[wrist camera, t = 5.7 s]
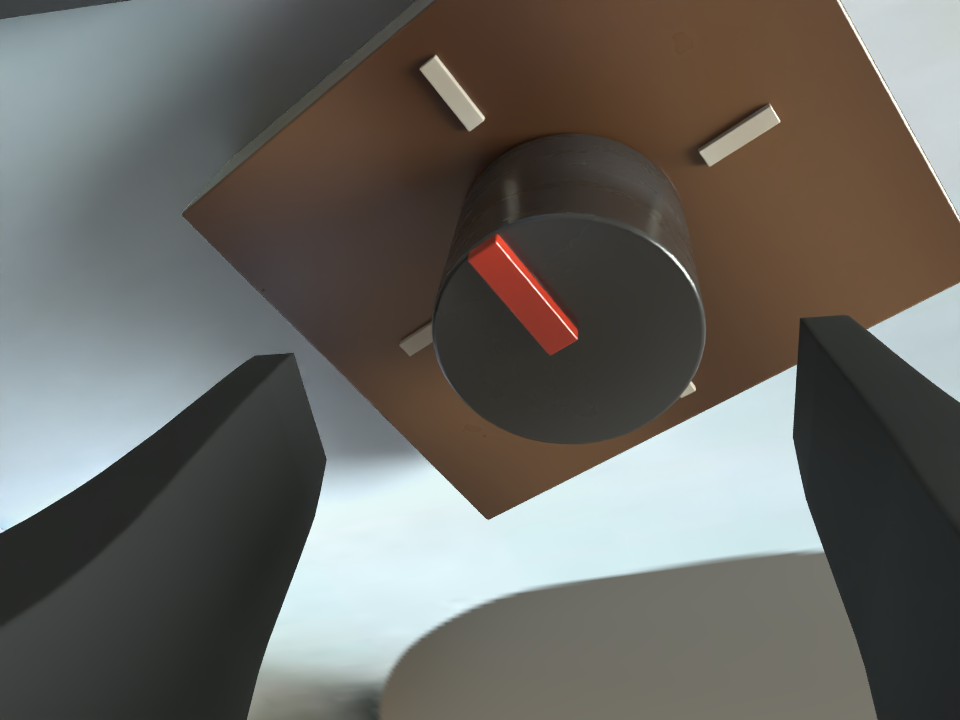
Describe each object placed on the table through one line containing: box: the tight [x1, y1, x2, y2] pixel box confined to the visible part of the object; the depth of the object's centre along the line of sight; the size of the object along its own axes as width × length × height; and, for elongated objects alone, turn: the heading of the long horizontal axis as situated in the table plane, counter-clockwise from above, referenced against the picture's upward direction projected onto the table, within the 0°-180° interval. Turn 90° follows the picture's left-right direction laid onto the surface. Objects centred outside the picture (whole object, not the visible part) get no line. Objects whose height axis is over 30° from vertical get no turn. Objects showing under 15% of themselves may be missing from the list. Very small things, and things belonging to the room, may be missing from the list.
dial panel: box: [182, 0, 960, 520], centre depth 18 cm, size 12×10×3 cm
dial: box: [432, 133, 706, 444], centre depth 16 cm, size 4×4×4 cm
